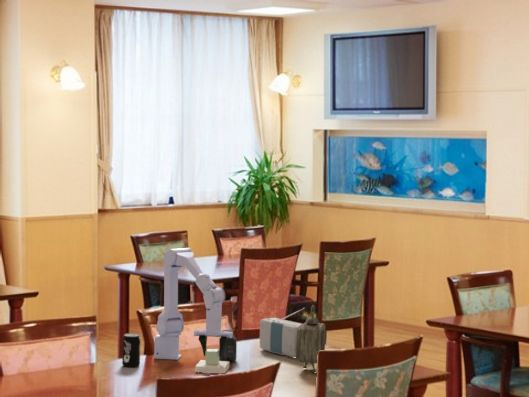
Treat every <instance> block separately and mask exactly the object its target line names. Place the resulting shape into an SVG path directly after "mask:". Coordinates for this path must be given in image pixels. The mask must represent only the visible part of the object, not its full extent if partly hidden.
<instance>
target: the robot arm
mask: <svg viewBox="0 0 529 397" xmlns="http://www.w3.org/2000/svg"><path fill="white" fill-rule="evenodd" d="M183 267H184V268H186V270H187V271H188V272H189V273H190V274H191V275H192V276H193V278H194V279H195V284H196V286H197V287H198V289H199V290H200V292H201V293H202V297H203V301H204V303H205V304H204V306H205V308H206V311H205V313H206V314H205V315H206V316H205V317H206V318H205V329H204V330H203V329H195V330H194V331H193V337H198V341H199V342H200V345H201V348H202V352H203V354H202V355H203V357H205V351H206V350H207V349H208V348H207V344H208V343H207V342H208V338H209V337H212V338H213V337H214V338H219V340H218V343H219V342H220V350H219V357H221V356H222V352H223V348H224V345H225V343H226V341H227V339H228V338H232V337H233V332H226V331H222V314H223V313H222V310H223V307H222V306H223V303H224V301H225V300H226V293H225V292H226V291H225V290H224V288H223V287H220V286H219V285H216V283H215V282H214V281H213V280H212V278H211V276H210V275H209V274H207V273H203V271H202V269H201V268H200V266H199V265H198V263H197V261H196V259H195V253H194V252H193V250H192V249H191V248H190V247H183V248H182V247H181V248H168V249H166V251H165V252H164V253H163V268H164V270H163V273H164V274H163V275H164V276H163V280H164V281H163V288H164V289H163V290H164V291H163V293H164V294H163V301H164V302H163V311H162V312H161V313H160V314H159V315H158V316H157V323H156V331H157V333H158V334H156V335H155V337H154V349H153V350H154V352H153V354H154V355H153V359H156V360H157V359H159V360H179V359H180V357H182V354H180V336H181V334H182V333H183V332H184V328H185V322H184V318H183V316H184V315H183V314H182V313H181V312H180V311H179V309H178V308H179V271H180V270H181V269H182V268H183Z"/></svg>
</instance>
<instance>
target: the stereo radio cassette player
mask: <svg viewBox="0 0 529 397" xmlns="http://www.w3.org/2000/svg"><path fill="white" fill-rule="evenodd" d="M304 309H305V307H303V308H302V309H299V310H297V311H295V312H292V313H290V314H288V315H285V316H284V317H283V318H278V317H269V318H268V317H267V318H261V319H260V324H259V348H260V349H261V350H263V351H264V350H265V351H266V352H269V353H274V354H277V355H281V356H284V355H287V356H286V357H288V356H291V357H290V358H292V357H296V337H297V329H298V327H299V326H300V325H301V324H302V323H301V322H296V321H292V320H286V319H287V318H289V317H290V316H293V315H294V314H297V313H299V312H301V311H302V310H304Z"/></svg>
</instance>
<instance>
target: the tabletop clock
mask: <svg viewBox="0 0 529 397" xmlns="http://www.w3.org/2000/svg"><path fill="white" fill-rule="evenodd" d="M315 308H316V307H315V305H314V304H312V305H311V307H310V316H309V317H308V318H306V320H305V322H304V323H301V325H300V326H299V327H298V329H297V337H296V358H295V359H296V360H297V361H298V362H300V363H304V365H303V366H302V369H303V368H308V367H307V365H308V363H309V364H310V365H311V367H312V373H313V372H316V370H317V369H316V368H315V364H317V355H318V351H319V350H325V351H326V323H322V322H321V323H320V322H319V319H318V318H317V317H315V310H316V309H315Z"/></svg>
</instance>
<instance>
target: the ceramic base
mask: <svg viewBox="0 0 529 397" xmlns="http://www.w3.org/2000/svg"><path fill="white" fill-rule="evenodd" d="M194 368H195V370H194V371H195V373H196V372H198V373H196V374H200V373H199V372H202V373H201V374H210V373H225V372H226V373H227V372H228V370H229V369H230V362H229V361H219V363H218V365H206V359H200V360H199V362H198V363H196V365H195V366H194ZM226 373H225V374H226Z"/></svg>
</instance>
